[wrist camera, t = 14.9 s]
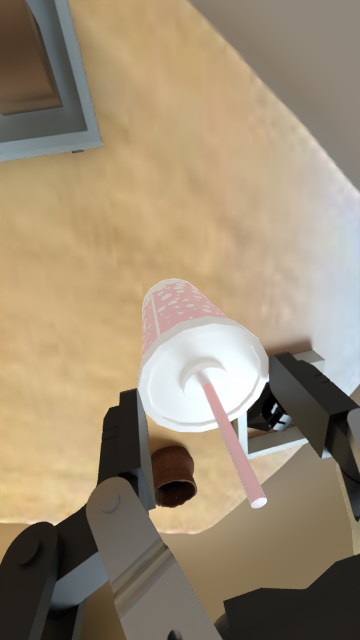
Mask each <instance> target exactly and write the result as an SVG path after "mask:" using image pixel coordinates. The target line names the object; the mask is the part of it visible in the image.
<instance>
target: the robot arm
mask: <svg viewBox="0 0 360 640" xmlns="http://www.w3.org/2000/svg"><path fill="white" fill-rule="evenodd" d="M269 385H270V389H271V391H272V393H273V395H274V396H275V397H276V399H277V400H278V402H279V403H280V404H281V406H282V407H283V408H284V410H285V411H286V412H287V414H288V415H289V416H290V418H291V419H292V420H293V422H294V423H295V424H296V426H297V427H298V428H299V430H300V431H301V432H302V434H303V435H304V436H305V438H306V439H307V440H308V442H309V443H310V444H311V446H312V447H313V448H314V450H315V451H316V452H317V454H318V455H319V457H320V458H321V459H324V458H327V457H331V456H332V457H333V458H334V459H335V460H336V462H337V464H336V470H337V474H338V478H339V482H340V485H341V489H342V493H343V496H344V500H345V504H346V507H347V511H348V515H349V518H350V522H351V527H352V535H353V539H352V540H353V550H354V556H351V557H349V558H345V559H343V560H340V561H337V562H335V563H334V564H333V565H332V566H331V567H330V568H329V569H327V571H326V572H324V573H323V574H322V575H321V576H320V577H319V578H318V579H317V580H316V581H314V583H312V584H311V585H310V586H309V587H308V588H306V589H276V588H274V589H273V588H260V589H257V590H254V591H251V592H248V593H245V594H242V595H240V596H237V597H234V598H231V599H228V600H225V601H223V602H224V608H225V613H224V614H223V615H222V616H221V617H220V618H218V619H217V620H216V622H215V623H214V624H213V622H212V621H211V619H210V617H209V616H208V614H207V612H206V611H205V609H204V607H203V605H202V604H201V602H200V601H199V598H198V597H197V595H196V593H195V592H194V590H193V588H192V587H191V585H190V583H189V581H188V579H187V578H186V576H185V574H184V573H183V571H182V569H181V567H180V566H179V564H178V562H177V561H176V559H175V557H174V555H173V554H172V552H171V551H170V549H169V548H168V546H167V545H165V543H164V542H163V540H162V539H161V537H160V535H159V533H158V532H157V530H156V528H155V526H154V525H153V523H152V521H151V519H150V518H149V512H148V510H151V509H155V508H156V505H155V495H154V485H153V475H152V465H151V455H150V444H149V434H148V425H147V419H146V415H145V411H144V408H143V404H142V401H141V398H140V394H139V391H138V389H137V388H135V389H131V390H127V391H123V392H120V402H119V406H115V407H111V408H109V410H108V412H107V414H106V416H105V417H104V421H103V433H102V442H101V452H100V462H99V473H98V481H97V486H96V488H95V489H94V490H93V492H92V493H91V495H90V497H89V499H88V502H87V503H86V504H85V505H84V506H83V507H82V508H81V509H80V510H78V511H77V512H76V513H74V514H73V515H71V516H69V517H68V518H66V519H65V520H63V521H62V522H60V523H59V524H57V525H56V526H53V525H52V524H51V523H49V522H38V523H35V524H33V525H31V526H29V527H28V528H26V529H25V530H24V531H23V532H21V533H20V534H19V535H18V536H17V537H16V538H15V539H14V541H13V542H12V543H11V545H10V546H9V548H8V550H7V551H6V553H5V555H4V557H3V560H2V562H1V564H0V640H79V638H80V633H81V628H82V622H83V617H84V612H85V607H86V601H87V597H88V596H89V595H90V594H91V593H93V592H94V591H95V590H96V589H98V588H99V587H100V586H101V585H103V584H104V583H105V582H107V581H108V580H109V581H110V583H111V586H112V589H113V593H114V602H115V606H116V610H117V613H118V616H119V619H120V621H121V624H122V627H123V630H124V633H125V635H126V638H127V640H360V406H358V405H357V404H356V403H355V402H354V401H353V400H352V399H351V398H350V397H348V396H347V395H346V394H345V393H344V392H343V391H342V390H341V389H340V388H338V387H337V386H336V385H335V384H334V383H333V382H331V381H330V379H328V378H327V377H326V376H325V375H323V373H322V372H321V371H320V370H318V369H317V368H316V367H315V366H314V365H312V364H310V363H308V362H306V361H304V360H299V361H298V360H297V359H296V358H295V357H294V356H293V355H291V354H290V353H289V352H282V353H278V354H274V355H271V356H270V358H269Z"/></svg>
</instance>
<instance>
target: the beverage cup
mask: <svg viewBox="0 0 360 640" xmlns="http://www.w3.org/2000/svg"><path fill="white" fill-rule="evenodd" d="M142 334H143V357H142V361H141V365H140V370H139V375H138V391H139V394H140V398H141V401H142V404H143V408H144V411H145V412H146V413H147V414H148V415H149V416H150V417H151V418H152V419H153V420H154V421H155V422H156V423H157V424H158V425H161V426H163V427H166V428H169V429H172V430H175V431H177V432H203V431H207V430H210V429H214V428H217V427H219V429H220V432H221V434H222V437H223V439H224V442H225V444H226V446H227V449H228V451H229V454H230V456H231V459H232V461H233V463H234V466H235V468H236V471H237V473H238V476H239V478H240V480H241V483H242V485H243V488H244V490H245V493H246V495H247V497H248V500H249V502H250V505H251V507H252V508H259V507H262V506H263V505H265V504H266V502H267V499H266V497H265V494H264V492H263V490H262V488H261V486H260V484H259V482H258V480H257V478H256V475H255V473H254V471H253V469H252V467H251V465H250V463H249V461H248V459H247V456H246V454H245V452H244V450H243V448H242V446H241V444H240V442H239V440H238V437H237V435H236V433H235V431H234V429H233V427H232V425H231V423H230V422H231V421H232V420H234V419H236V418H237V417H239V416H241V415H242V414H244V413H245V412H246V411H247V410H248V409H249V408H250V406H251V405H252V404H253V403H254V402H255V401H256V400H257V399H258V398H259V397H260V394H261V392H262V390H263V388H264V386H265V384H266V381H267V379H268V356H267V354H266V352H265V350H264V348H263V346H262V344H261V342H260V340H259V339H258V338H257V337H256V336H255V335H253V334H252V333H251V332H250V331H249V330H248V329H246V328H245V327H243V326H242V325H240V324H238V323H237V322H235V321H234V320H232V319H229V318H228V317H227V316H226V315H225V314H223V313H222V312H221V311H220V310H219V309H218V308H217V307H216V306H215V305H214V304H213V303H212V302H211V301H209V300H208V299H207V298H206V297H205V296H204V295H203V294H202V293H201V292H200V291H199V290H198V289H197V288H196V287H194V286H193V285H191V284H190V283H188V282H187V281H186V280H181V279H175V278H172V279H167V280H162V281H160V282H159V283H157V284H156V285H154V286H153V287H151V288H150V290H149V291H148V293H147V294H146V296H145V297H144V302H143V307H142Z"/></svg>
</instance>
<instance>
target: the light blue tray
mask: <svg viewBox="0 0 360 640" xmlns="http://www.w3.org/2000/svg"><path fill="white" fill-rule="evenodd" d="M26 1H27V3H28V5H29V7H30V9H31V11H32V13H33V15H34V17H35V19H36V21H37V22H38V24H39V27H40V30H41V34H42V37H43V40H44V44H45V47H46V50H47V54H48V57H49V60H50V64H51V67H52V70H53V74H54V77H55V80H56V84H57V87H58V90H59V94H60V97H61V100H62V104H63V107H60V108H53V109H46V110H40V111H33V112H27V113H20V114H13V115H7V116H3V115H2V114H0V162H2V161H8V160H15V159H22V158H29V157H36V156H42V155H49V154H56V153H63V152H70V151H72V153H77V152H84V149H90V148H97V147H103V144H102V140H101V136H100V131H99V127H98V123H97V119H96V115H95V111H94V106H93V102H92V98H91V94H90V90H89V86H88V82H87V77H86V73H85V69H84V65H83V61H82V57H81V53H80V48H79V44H78V40H77V36H76V32H75V28H74V24H73V19H72V15H71V11H70V7H69V3H68V0H26Z"/></svg>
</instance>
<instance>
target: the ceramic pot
mask: <svg viewBox="0 0 360 640" xmlns="http://www.w3.org/2000/svg"><path fill="white" fill-rule="evenodd" d="M151 465H152V475H153V485H154V495H155V504H156V505H158V506H162V507H169V508H174V507H177V506H178V505H182V504H184V503H185V502H186V501H187V500H190V499H191V498H192V497H193V496H195V495H196V493H197V487H196V484H195V481H194V478H193V477H192V476H193V472H194V462H193V459H192V457H191V456H190V454H189V453H188V451H187V450H186V449H185V448H182V447H178V446H171V447H166V448H162V449H159V450H157V451H156V452H154V453H153V454H152V455H151Z"/></svg>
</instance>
